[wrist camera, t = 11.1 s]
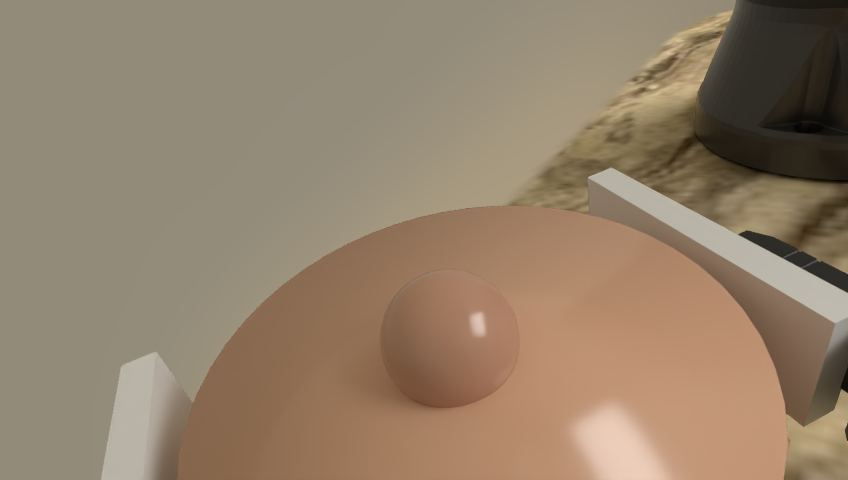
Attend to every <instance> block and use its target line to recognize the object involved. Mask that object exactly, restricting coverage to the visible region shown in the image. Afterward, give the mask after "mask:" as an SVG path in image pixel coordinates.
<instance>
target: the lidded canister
mask: <svg viewBox="0 0 848 480" xmlns="http://www.w3.org/2000/svg"><path fill="white" fill-rule="evenodd" d="M789 443H790V442H789V439H788V437H787V425H786V412H785V402H784V398H783V395H782V391H781V387H780V383H779V379H778V375H777V372H776V368H775V366H774V364H773V361H772V359H771V357H770V355H769V353H768V350H767V348H766V346H765V344H764V341H763V339H762V337H761V335H760V334H759V332H758V331H757V329H756V328H755V326H754V325H753V323H752V322H751V320H750V319H749V317H748V316H747V314H746V313H745V311H744V310H743V308H742V307H741V306H740V305H739V304H738V303H737V301H736V300H735V299H734V298H733V297H732V296H731V295H730V294H729V293H728V291H727V290H726V289H725V288H724V287H723V286H722V285H721V284H720V283H719V282H718V281H717V280H715V279H714V278H713V277H712V276H711V275H710V274H709V273H707V272H706V271H705V270H704V269H703V268H702V267H700V266H699V265H698V264H697V263H695V262H694V261H692V260H691V259H689V258H688V257H686V256H685V255H683V254H682V253H680V252H679V251H677V250H676V249H674V248H673V247H671V246H669V245H667V244H665V243H663V242H661V241H659V240H657V239H655V238H654V237H652V236H650V235H648V234H645V233H643V232H640V231H638V230H635V229H633V228H631V227H628V226H626V225H623V224H620V223H617V222H614V221H610V220H607V219H604V218H600V217H597V216H593V215H588V214H584V213H579V212H574V211H569V210H562V209H554V208H547V207H532V206H489V207H477V208H466V209H460V210H454V211H447V212H441V213H437V214H433V215H428V216H424V217H419V218H416V219H412V220H409V221H405V222H402V223H399V224H395V225H393V226H390V227H387V228H384V229H382V230H379V231H376V232H374V233H371V234H369V235H367V236H364V237H362V238H360V239H357V240H355V241H353V242H351V243H349V244H347V245H345V246H343V247H341V248H339V249H337V250H335V251H334V252H332V253H330V254H328V255H326V256H324V257H323V258H321V259H320V260H318V261H317V262H315V263H314V264H312V265H310V266H309V267H307V268H306V269H304V270H302V271H301V272H300V273H299V274H297V275H296V276H294V277H293V278H292V279H290V280H289V281H288V282H286V283H285V284H284V285H282V286H281V287H280V288H279V289H278V290H277V291H275V292H274V293H273V294H272V295H271V296H270V297H269V298H267V299H266V300H265V301H264V302H263V303H262V304H261V305H260V306H259V307H258V308H257V309H256V310H255V311H254V312H253V313H252V314H251V315H250V316H249V317H248V318H247V319H246V320H245V322H244V323H243V324H242V325H241V326H240V328H239V329H238V330H237V331H236V332H235V334H234V335H233V336H232V338H231V339H230V340H229V341H228V342H227V344H226V345H225V347H224V348H223V350H222V351H221V353H220V354H219V356H218V357H217V359H216V360H215V362H214V363H213V365H212V366H211V368H210V370H209V372H208V374H207V376H206V378H205V380H204V382H203V384H202V385H201V387H200V390H199V391H198V393H197V395H196V398H195V401H194V404H193V406H192V409H191V412H190V414H189V417H188V420H187V423H186V426H185V431H184V435H183V439H182V444H181V448H180V453H179V461H178V474H177V480H784V472H785V463H786V457H787V453H788V448H789Z"/></svg>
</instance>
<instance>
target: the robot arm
mask: <svg viewBox="0 0 848 480" xmlns="http://www.w3.org/2000/svg"><path fill="white" fill-rule="evenodd" d="M694 130H695V133H696V135H697V137H698V138H699V140H700V141H701V142H702V143H703V144H704V145H705V146H706V147H708V148H709V149H710V150H712V151H713V152H715V153H717V154H719V155H720V156H722V157H724V158H727V159H729V160H731V161H734V162H737V163H739V164H742V165H745V166H748V167H752V168H755V169H759V170H763V171H768V172H773V173H777V174H783V175H789V176H796V177H804V178H814V179H827V180H848V0H736V4H735V8H734V11H733V14H732V16H731V18H730V21H729V23H728V25H727V27H726V30H725V32H724V34H723V36H722V39H721V41H720V43H719V46H718V48H717V50H716V52H715V55H714V57H713V59H712V62H711V64H710V66H709V69H708V71H707V73H706V76H705V78H704V81H703V82H702V84H701V86H700V89H699V91H698V94H697V98H696V109H695V121H694ZM587 180H588V202H589V215H593V216H597V217H600V218H604V219H607V220H610V221H614V222H617V223H620V224H623V225H626V226H628V227H631V228H633V229H635V230H638V231H640V232H643V233H645V234H648V235H650V236H652V237H654V238H655V239H657V240H659V241H661V242H663V243H665V244H667V245H669V246H671V247H673V248H674V249H676V250H677V251H679V252H680V253H682V254H683V255H685V256H686V257H688V258H689V259H691V260H692V261H694V262H695V263H697V264H698V265H699V266H700V267H702V268H703V269H704V270H705V271H706V272H707V273H709V274H710V275H711V276H712V277H713V278H714V279H715V280H717V281H718V282H719V283H720V284H721V285H722V286H723V287H724V288H725V289H726V290H727V291H728V293H729V294H730V295H731V296H732V297H733V298H734V299H735V300H736V301H737V303H738V304H739V305H740V306H741V307H742V308H743V310H744V311H745V313H746V314H747V316H748V317H749V319H750V320H751V322H752V323H753V325H754V326H755V328H756V329H757V331H758V332H759V334H760V335H761V337H762V339H763V341H764V344H765V346H766V348H767V350H768V353H769V355H770V357H771V359H772V361H773V364H774V366H775V368H776V372H777V375H778V379H779V383H780V387H781V391H782V395H783V398H784V402H785V412H786V413H787V414H788V415H789V416H791V417H792V418H793V419H794V420H796V421H797V422H798V423H799V424H801V425H802V426H803V427H804V426H806V425H808V424H810V423H811V422H813V421H815V420H817V419H819V418H820V417H822V416H824V415H826V414H827V413H829V412H831V411H833V410H834V408H835V405H836V403H837V400H838V397H839V394H840V391H841V389H843V390H844V391H846V392H847V393H848V274H846V273H844V272H842V271H840V270H838V269H836V268H834V267H832V266H830V265H828V264H826V263H824V262H822V261H821V262H818V261H817V259H816V258H814V257H812V256H810V255H808V254H806V253H804V252H798V249H796V248H794V247H792V246H790V245H788V244H786V243H784V242H782V241H780V240H778V239H776V238H774V237H771V236H767V235H763V234H759V233H755V232H751V231H745V232H742V233H740V234H738V235H737V234H736V233H734V232H732V231H730V230H728V229H726V228H724V227H722V226H721V225H719V224H717V223H715V222H713V221H711V220H709V219H707V218H705V217H704V216H702V215H700V214H698V213H696V212H694V211H692V210H690V209H689V208H687V207H685V206H683V205H681V204H679V203H677V202H675V201H674V200H672V199H670V198H668V197H666V196H664V195H662V194H660V193H658V192H657V191H655V190H653V189H651V188H649V187H647V186H645V185H643V184H642V183H640V182H638V181H636V180H634V179H632V178H630V177H628V176H626V175H625V174H623V173H621V172H619V171H617V170H615V169H613V168H609V169H607V170H604V171H602V172H599V173H597V174H594V175H592V176H589V177H587ZM192 406H193V403H192V401H191V400H190V398H189V397H188V396H187V394H186V393H185V391H184V390H183V388H182V387H181V386H180V384H179V383H178V381H177V380H176V379H175V377H174V376H173V374H172V373H171V372H170V370H169V369H168V367H167V366H166V364H165V363H164V362H163V360H162V359H161V358H160V356H159V355H158V353H157V352H154V353H151V354H148V355H146V356H144V357H141V358H139V359H136V360H134V361H131V362H129V363H126V364H124V365H122V366H121V371H120V377H119V382H118V388H117V393H116V398H115V404H114V409H113V415H112V421H111V426H110V432H109V437H108V442H107V448H106V454H105V459H104V464H103V470H102V475H101V480H177V474H178V461H179V453H180V448H181V444H182V439H183V435H184V431H185V426H186V423H187V420H188V417H189V414H190V412H191V409H192ZM845 433H846V438H847V441H848V424H847V426H846V429H845Z"/></svg>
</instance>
